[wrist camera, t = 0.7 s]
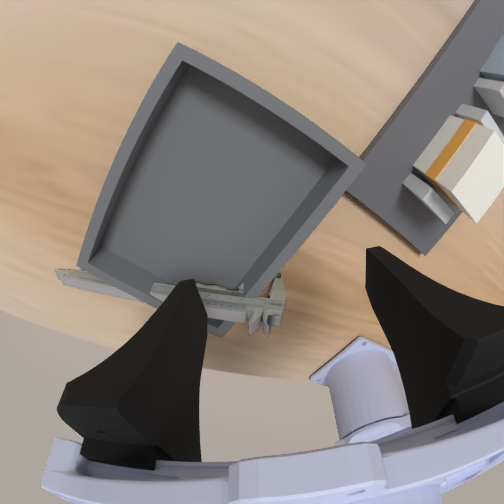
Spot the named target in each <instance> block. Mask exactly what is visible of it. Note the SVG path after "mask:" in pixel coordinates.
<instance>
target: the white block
mask: <svg viewBox="0 0 504 504" xmlns="http://www.w3.org/2000/svg"><path fill="white" fill-rule="evenodd" d="M413 166H414V167H415V168H416V169H417V170H418V171H419V172H420V173H421V174H422V175H423V177H424V178H425V179H426V180H427V181H428V182H429V183H430V184H431V185H432V186H433V187H434V188H435V189H436V190H437V192H438V193H439V194H441V195H442V196H443V197H444V198H446V199H447V200H448V201H450V202H451V204H452V205H453V206H455V207H456V208H457V209H458V210H460V211H462V212H463V213H465V214H466V215H467V216H468V217H469V218H471V219H472V220H473V221H474V222H475V223H477V222H478V221H479V220H480V218H481V217H482V216H483V214H484V213H485V212H486V211H487V209H488V208H489V207H490V205H491V204H492V202H493V201H494V200H495V198H496V197H497V196H498V194H499V193H500V191H501V190H502V189H503V187H504V144H503V143H502V141H501V139H500V138H499V136H498V135H497V133H496V131H495V130H493V129H490V128H487V127H484V126H482V125H479V124H477V123H476V122H473V121H470V120H467V119H465V120H464V119H461V118H458V117H455V116H451V115H450V116H449V117H448V119H447V120H446V121H445V123H444V124H443V126H442V127H441V128H440V130H439V131H438V132H437V134H436V135H435V136H434V138H433V139H432V141H431V142H430V143H429V145H428V146H427V147H426V149H425V150H424V151H423V153H422V154H421V155H420V156H419V158H418V159H417V160H416V162H415V163H414V164H413Z"/></svg>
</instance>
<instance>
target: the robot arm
mask: <svg viewBox="0 0 504 504" xmlns="http://www.w3.org/2000/svg"><path fill="white" fill-rule="evenodd" d="M365 288H366V291H367V294H368V297H369V300H370V303H371V306H372V308H373V310H374V312H375V314H376V317H377V319H378V321H379V323H380V325H381V327H382V329H383V331H384V333H385V335H386V337H387V340H388V342H389V344H390V346H391V348H392V350H390V349H388V348H386V347H384V346H382V345H380V344H377V343H375V342H373V341H371V340H369V339H367V338H365V337H358V338H357V339H356V340H354V341H353V342H352V343H351V344H350V345H349V346H347V347H346V348H345V349H344V350H343V351H342V352H340V353H339V354H338V355H337V356H336V357H334V358H333V359H332V360H331V361H329V362H328V363H327V364H326V365H325V366H323V367H322V368H321V369H320V370H318V371H317V372H316V373H314V374H313V375H312V376H311V377H310V380H311V381H312V382H315V383H318V384H321V385H324V386H328V387H329V388H330V393H331V398H332V403H333V408H334V413H335V418H336V423H337V428H338V433H339V439H340V440H339V441H336V446H334V447H329V448H324V449H317V450H311V451H305V452H298V453H291V454H283V455H273V456H263V457H255V458H248V459H242V460H240V461H236V462H202V461H201V449H200V431H199V387H200V378H201V371H202V365H203V359H204V352H205V346H206V339H207V317H208V314H207V312H206V309H205V307H204V304H203V302H202V299H201V296H200V294H199V291H198V289H197V286H196V283H195V281H194V279H189V280H183V281H180V282H179V283H178V284H177V285H176V286H175V288H174V289H173V290H172V292H171V293H170V294H169V295H168V297H167V298H166V299H165V300H164V302H163V303H162V304H161V305H160V307H159V308H158V309H157V310H156V312H155V313H154V314H153V315H152V316H151V317H150V319H149V320H148V321H147V322H146V323H145V324H144V325H143V327H142V328H141V329H140V330H139V331H138V332H137V333H136V334H135V335H134V336H133V337H132V338H131V339H130V340H129V341H128V342H127V343H125V344H124V345H123V346H122V347H121V348H119V349H118V350H117V351H116V352H115V353H114V354H112V355H111V356H110V357H108V358H107V359H106V360H104V361H103V362H102V363H100V364H99V365H97V366H96V367H94V368H93V369H91V370H89V371H88V372H86V373H85V374H83V375H81V376H79V377H77V378H75V379H74V380H72V381H70V382H68V383H67V384H66V387H65V389H64V392H63V394H62V396H61V399H60V402H59V404H58V407H57V412H58V414H59V416H60V417H61V418H62V420H63V421H64V422H65V423H66V424H68V425H69V426H70V427H71V428H72V429H74V430H75V431H76V432H77V433H79V434H80V435H81V436H82V437H83V438H84V440H83V443H82V444H80V443H78V442H76V441H72V440H67V439H63V438H58V437H56V438H55V440H54V443H53V446H52V449H51V452H50V455H49V459H48V462H47V465H46V469H45V472H44V476H43V480H42V484H41V487H42V488H43V489H45V490H47V491H49V492H51V493H53V494H55V495H57V496H59V497H60V498H63V499H65V500H67V501H69V502H71V503H73V504H443V502H442V498H441V494H442V493H444V492H446V491H448V490H451V489H453V488H455V487H457V486H459V485H461V484H463V483H465V482H467V481H469V480H471V479H472V478H474V477H476V476H478V475H480V474H481V473H483V472H485V471H487V470H488V469H490V468H492V467H493V466H495V465H497V464H498V463H500V462H502V461H503V460H504V306H500V305H495V304H491V303H488V302H484V301H481V300H478V299H475V298H472V297H469V296H466V295H464V294H461V293H459V292H456V291H454V290H452V289H450V288H448V287H446V286H444V285H441V284H439V283H438V282H436V281H434V280H432V279H430V278H429V277H427V276H425V275H423V274H422V273H420V272H418V271H417V270H415V269H414V268H412V267H411V266H409V265H408V264H406V263H405V262H403V261H402V260H400V259H399V258H397V257H396V256H394V255H393V254H391V253H390V252H388V251H387V250H385V249H384V248H382V247H380V246H378V247H372V248H367V249H366V284H365ZM363 342H364V343H363Z"/></svg>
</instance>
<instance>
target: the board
mask: <svg viewBox="0 0 504 504" xmlns="http://www.w3.org/2000/svg"><path fill="white" fill-rule="evenodd" d="M502 35H504V0H475V1H474V2H473V4H472V5H471V7H470V8H469V10H468V11H467V13H466V14H465V15H464V17H463V18H462V20H461V21H460V23H459V24H458V25H457V27H456V28H455V30H454V31H453V32H452V34H451V35H450V37H449V38H448V39H447V41H446V42H445V44H444V45H443V46H442V48H441V49H440V51H439V52H438V53H437V55H436V56H435V58H434V59H433V60H432V62H431V63H430V64H429V66H428V67H427V69H426V70H425V71H424V73H423V74H422V75H421V77H420V78H419V79H418V81H417V82H416V83H415V85H414V86H413V88H412V89H411V90H410V92H409V93H408V94H407V96H406V97H405V98H404V100H403V101H402V102H401V104H400V105H399V106H398V108H397V109H396V110H395V112H394V113H393V114H392V116H391V117H390V118H389V119H388V121H387V122H386V123H385V125H384V126H383V127H382V129H381V130H380V131H379V133H378V134H377V135H376V136H375V138H374V139H373V140H372V142H371V143H370V144H369V146H368V147H367V148H366V149H365V151H364V152H363V153H362V155H361V156H360V157H359V158H360V159H361V160H362V161H364V162H365V163H366V164H367V165H366V166H365V167H364V169H363V170H362V171H361V172H360V174H359V175H358V176H357V177H356V179H355V180H354V181H353V182H352V184H351V185H350V186H349V187H348V189H347V190H346V191H347V192H349V193H350V194H351V195H353V196H354V197H355V198H356V199H358V200H359V201H360V202H362V203H363V204H364V205H365V206H367V207H368V208H369V209H370V210H372V211H373V212H374V213H375V214H377V215H378V216H379V217H380V218H382V219H383V220H384V221H385V222H387V223H388V224H389V225H390V226H391V227H393V228H394V229H395V230H396V231H397V232H399V233H400V234H401V235H402V236H403V237H404V238H406V239H407V240H408V241H409V242H410V243H411V244H412V245H414V246H415V247H416V248H417V249H418V250H419V251H420V252H421V253H423V254H424V255H426V254H427V253H428V252H429V251H430V250H431V249H432V248H433V246H434V245H435V244H436V243H437V242H438V241H439V239H440V238H441V237H442V236H443V235H444V234H445V232H446V231H447V230H448V229H449V228H450V226H451V225H452V224H453V223H454V221H455V220H456V219H457V218H458V216H459V215H460V214H461V213H462V211H460V210H458V209H457V208H456V207H455V206H453V205H452V204H451V202H450V201H448V200H447V199H446V198H444V197H443V196H442V195H441V194H439V193H438V192H437V190H436V189H435V188H434V187H433V186H432V185H431V184H430V183H429V182H428V181H427V180H426V179H425V178H424V177H423V175H422V174H421V173H420V172H419V171H418V170H417V169H416V168H415V167H414V166H413V164H414V163H415V162H416V160H417V159H418V158H419V156H420V155H421V154H422V153H423V151H424V150H425V149H426V147H427V146H428V145H429V143H430V142H431V141H432V139H433V138H434V136H435V135H436V134H437V132H438V131H439V130H440V128H441V127H442V126H443V124H444V123H445V121H446V120H447V119H448V117H449V116H450V115H451V116H455V117H458V118H461V119H464V120H465V119H467V120H470V121H473V122H476V123H477V124H479V125H482V126H484V127H487V128H490V129H493V130H495V131H496V133H497V135H498V136H499V138H500V139H501V141H502V143H503V144H504V82H502V81H496V80H490V79H485V78H484V76H483V75H482V74H481V72H480V70H481V69H482V67H483V65H484V64H485V62H486V61H487V59H488V57H489V56H490V54H491V53H492V51H493V49H494V48H495V46H496V44H497V43H498V41H499V39H500V38H501V36H502Z"/></svg>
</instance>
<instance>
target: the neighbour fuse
mask: <svg viewBox="0 0 504 504" xmlns="http://www.w3.org/2000/svg"><path fill="white" fill-rule="evenodd" d="M480 72H481V74H482V75H483V76H484V78H485V79H490V80H496V81H502V82H504V35H502V36H501V38H500V39H499V41H498V43H497V44H496V46H495V48H494V49H493V51H492V53H491V54H490V56H489V57H488V59H487V61H486V62H485V64H484V65H483V67H482V69H481V70H480Z"/></svg>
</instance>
